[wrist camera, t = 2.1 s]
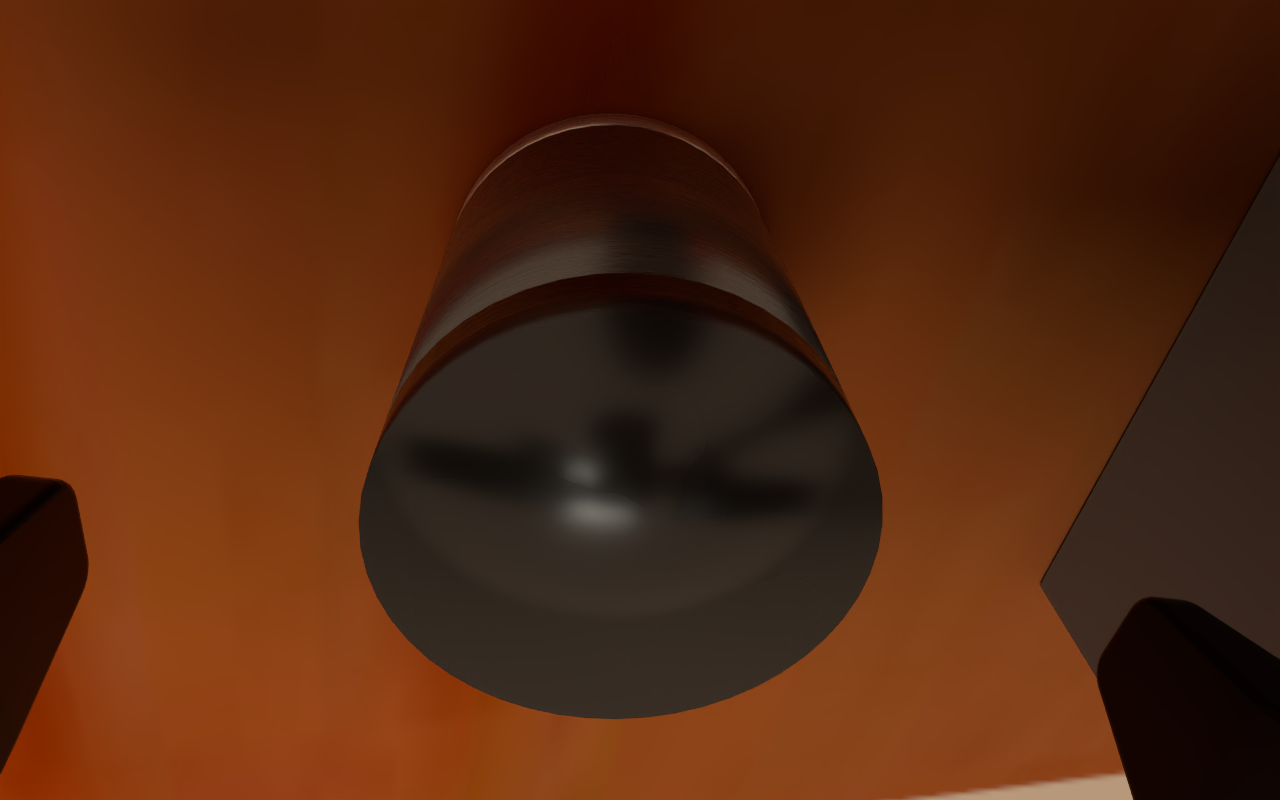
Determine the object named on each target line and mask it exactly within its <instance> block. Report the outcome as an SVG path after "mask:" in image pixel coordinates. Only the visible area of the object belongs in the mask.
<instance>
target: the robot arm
mask: <svg viewBox="0 0 1280 800" xmlns="http://www.w3.org/2000/svg"><path fill="white" fill-rule="evenodd" d="M88 564H89V563H88V555H87V549H86V544H85V539H84V534H83V529H82V523H81V518H80V513H79V508H78V503H77V498H76V495H75V492H74V490H73V488H72V487H71V485H69V484H68V483H67V482H65V481H63V480H59V479H52V478H42V477H33V476H24V475H9V476H5V477H2V478H0V775H1V773H2V771H3V769H4V766H5V764H6V762H7V760H8V758H9V756H10V754H11V752H12V750H13V748H14V746H15V743H16V741H17V739H18V737H19V735H20V732H21V730H22V728H23V726H24V723H25V721H26V719H27V717H28V714H29V712H30V710H31V708H32V705H33V703H34V701H35V699H36V696H37V694H38V692H39V690H40V687H41V685H42V683H43V681H44V679H45V676H46V674H47V672H48V670H49V667H50V665H51V663H52V661H53V658H54V656H55V654H56V652H57V649H58V647H59V645H60V643H61V640H62V638H63V636H64V634H65V631H66V629H67V627H68V625H69V622H70V620H71V618H72V616H73V613H74V611H75V609H76V607H77V604H78V602H79V600H80V598H81V595H82V593H83V590H84V588H85V584H86V581H87V576H88ZM1097 683H1098V687H1099V690H1100V694H1101V697H1102V700H1103V703H1104V706H1105V710H1106V713H1107V716H1108V719H1109V723H1110V726H1111V729H1112V732H1113V736H1114V739H1115V742H1116V745H1117V748H1118V752H1119V755H1120V758H1121V761H1122V765H1123V768H1124V771H1125V774H1126V777H1127V781H1128V784H1129V787H1130V790H1131V794H1132V797H1133V800H1280V659H1279V658H1277V657H1276V656H1274V655H1273V654H1271V653H1270V652H1268V651H1267V650H1265V649H1264V648H1262V647H1260V646H1259V645H1257V644H1256V643H1254V642H1253V641H1251V640H1250V639H1248V638H1247V637H1245V636H1244V635H1242V634H1241V633H1239V632H1238V631H1236V630H1235V629H1233V628H1232V627H1230V626H1229V625H1227V624H1226V623H1224V622H1223V621H1221V620H1220V619H1218V618H1217V617H1215V616H1213V615H1212V614H1210V613H1209V612H1207V611H1206V610H1204V609H1203V608H1201V607H1200V606H1198V605H1196V604H1195V603H1192V602H1190V601H1187V600H1182V599H1173V598H1164V597H1154V596H1149V597H1144V598H1142V599H1140V600H1139V601H1137V602H1136V603H1134V605H1133V606H1132V607H1131V609H1130V610H1129V612H1128V613H1127V615H1126V616H1125V618H1124V619H1123V621H1122V623H1121V624H1120V626H1119V627H1118V629H1117V630H1116V632H1115V633H1114V635H1113V636H1112V638H1111V640H1110V641H1109V643H1108V644H1107V646H1106V647H1105V649H1104V650H1103V652H1102V654H1101V656H1100V658H1099V661H1098V664H1097Z"/></svg>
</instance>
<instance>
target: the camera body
mask: <svg viewBox="0 0 1280 800" xmlns="http://www.w3.org/2000/svg"><path fill="white" fill-rule="evenodd" d="M1040 586H1041V588H1042V589H1043V591H1044V593H1045V594H1046V596H1047V598H1048V599H1049V601H1050V602H1051V604H1052V606H1053V607H1054V609H1055V611H1056V612H1057V614H1058V615H1059V617H1060V619H1061V620H1062V622H1063V624H1064V625H1065V627H1066V629H1067V630H1068V632H1069V633H1070V635H1071V637H1072V638H1073V640H1074V642H1075V643H1076V645H1077V647H1078V648H1079V650H1080V651H1081V653H1082V655H1083V656H1084V658H1085V660H1086V661H1087V663H1088V665H1089V666H1090V668H1091V669H1092V671H1093V673H1094V674H1095V676H1096V678H1097V664H1098V661H1099V658H1100V656H1101V654H1102V652H1103V650H1104V649H1105V647H1106V646H1107V644H1108V643H1109V641H1110V640H1111V638H1112V636H1113V635H1114V633H1115V632H1116V630H1117V629H1118V627H1119V626H1120V624H1121V623H1122V621H1123V619H1124V618H1125V616H1126V615H1127V613H1128V612H1129V610H1130V609H1131V607H1132V606H1133V605H1134V603H1136V602H1137V601H1139V600H1140V599H1142V598H1144V597H1149V596H1154V597H1164V598H1173V599H1182V600H1187V601H1190V602H1192V603H1195V604H1196V605H1198V606H1200V607H1201V608H1203V609H1204V610H1206V611H1207V612H1209V613H1210V614H1212V615H1213V616H1215V617H1217V618H1218V619H1220V620H1221V621H1223V622H1224V623H1226V624H1227V625H1229V626H1230V627H1232V628H1233V629H1235V630H1236V631H1238V632H1239V633H1241V634H1242V635H1244V636H1245V637H1247V638H1248V639H1250V640H1251V641H1253V642H1254V643H1256V644H1257V645H1259V646H1260V647H1262V648H1264V649H1265V650H1267V651H1268V652H1270V653H1271V654H1273V655H1274V656H1276V657H1277V658H1279V659H1280V156H1279V158H1278V159H1277V161H1276V163H1275V165H1274V167H1273V168H1272V170H1271V172H1270V174H1269V176H1268V177H1267V179H1266V181H1265V183H1264V185H1263V186H1262V188H1261V190H1260V192H1259V193H1258V195H1257V197H1256V199H1255V201H1254V202H1253V204H1252V206H1251V208H1250V210H1249V211H1248V213H1247V215H1246V217H1245V219H1244V220H1243V222H1242V224H1241V226H1240V228H1239V229H1238V231H1237V233H1236V235H1235V236H1234V238H1233V240H1232V242H1231V244H1230V245H1229V247H1228V249H1227V251H1226V253H1225V254H1224V256H1223V258H1222V260H1221V262H1220V263H1219V265H1218V267H1217V269H1216V271H1215V272H1214V274H1213V276H1212V278H1211V280H1210V281H1209V283H1208V285H1207V287H1206V288H1205V290H1204V292H1203V294H1202V296H1201V297H1200V299H1199V301H1198V303H1197V305H1196V306H1195V308H1194V310H1193V312H1192V314H1191V315H1190V317H1189V319H1188V321H1187V323H1186V324H1185V326H1184V328H1183V330H1182V331H1181V333H1180V335H1179V337H1178V339H1177V340H1176V342H1175V344H1174V346H1173V348H1172V349H1171V351H1170V353H1169V355H1168V357H1167V358H1166V360H1165V362H1164V364H1163V366H1162V367H1161V369H1160V371H1159V373H1158V374H1157V376H1156V378H1155V380H1154V382H1153V383H1152V385H1151V387H1150V389H1149V391H1148V392H1147V394H1146V396H1145V398H1144V400H1143V401H1142V403H1141V405H1140V407H1139V409H1138V410H1137V412H1136V414H1135V416H1134V417H1133V419H1132V421H1131V423H1130V425H1129V426H1128V428H1127V430H1126V432H1125V434H1124V435H1123V437H1122V439H1121V441H1120V443H1119V444H1118V446H1117V448H1116V450H1115V452H1114V453H1113V455H1112V457H1111V459H1110V460H1109V462H1108V464H1107V466H1106V468H1105V469H1104V471H1103V473H1102V475H1101V477H1100V478H1099V480H1098V482H1097V484H1096V486H1095V487H1094V489H1093V491H1092V493H1091V495H1090V496H1089V498H1088V500H1087V502H1086V504H1085V505H1084V507H1083V509H1082V511H1081V512H1080V514H1079V516H1078V518H1077V520H1076V521H1075V523H1074V525H1073V527H1072V529H1071V530H1070V532H1069V534H1068V536H1067V538H1066V539H1065V541H1064V543H1063V545H1062V547H1061V548H1060V550H1059V552H1058V554H1057V555H1056V557H1055V559H1054V561H1053V563H1052V564H1051V566H1050V568H1049V570H1048V572H1047V573H1046V575H1045V577H1044V579H1043V581H1042V582H1041V584H1040Z"/></svg>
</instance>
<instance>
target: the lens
mask: <svg viewBox="0 0 1280 800" xmlns="http://www.w3.org/2000/svg"><path fill="white" fill-rule="evenodd" d="M881 529H882V493H881V487H880V482H879V476H878V471H877V468H876V465H875V462H874V460H873V457H872V454H871V451H870V449H869V446H868V444H867V441H866V439H865V437H864V435H863V433H862V431H861V429H860V426H859V424H858V422H857V420H856V418H855V416H854V414H853V411H852V409H851V407H850V405H849V403H848V401H847V399H846V396H845V394H844V392H843V390H842V388H841V386H840V384H839V381H838V379H837V377H836V375H835V373H834V371H833V369H832V366H831V364H830V362H829V360H828V358H827V356H826V354H825V351H824V349H823V347H822V345H821V343H820V341H819V339H818V336H817V334H816V332H815V330H814V328H813V326H812V324H811V321H810V319H809V317H808V315H807V313H806V311H805V309H804V306H803V304H802V302H801V300H800V298H799V296H798V294H797V291H796V289H795V287H794V285H793V283H792V281H791V279H790V276H789V274H788V272H787V270H786V268H785V266H784V264H783V261H782V259H781V257H780V255H779V253H778V251H777V249H776V246H775V244H774V242H773V240H772V238H771V236H770V234H769V231H768V229H767V227H766V225H765V223H764V221H763V219H762V216H761V214H760V212H759V210H758V208H757V206H756V204H755V201H754V200H753V198H752V196H751V194H750V192H749V191H748V189H747V187H746V185H745V183H744V182H743V181H742V179H741V178H740V177H739V175H738V174H737V173H736V171H735V170H734V169H733V167H732V166H731V165H730V164H729V163H728V162H727V161H726V160H725V159H724V158H723V157H722V156H721V155H720V154H719V153H718V152H716V151H715V150H714V149H712V148H711V147H710V146H708V145H707V144H706V143H704V142H703V141H702V140H700V139H699V138H697V137H695V136H693V135H692V134H690V133H688V132H686V131H684V130H683V129H681V128H678V127H676V126H673V125H671V124H668V123H665V122H663V121H660V120H656V119H652V118H648V117H644V116H640V115H632V114H622V113H596V114H587V115H581V116H575V117H570V118H567V119H564V120H560V121H557V122H554V123H551V124H548V125H546V126H544V127H541V128H539V129H537V130H535V131H533V132H531V133H529V134H527V135H526V136H524V137H522V138H521V139H519V140H518V141H516V142H515V143H513V144H512V145H510V146H509V147H508V148H507V149H505V150H504V151H503V152H502V153H501V154H500V155H499V156H497V157H496V158H495V159H494V160H493V161H492V162H491V163H490V165H489V166H488V167H487V168H486V169H485V170H484V171H483V173H482V174H481V175H480V176H479V178H478V179H477V181H476V182H475V184H474V185H473V187H472V188H471V190H470V192H469V193H468V195H467V198H466V200H465V202H464V204H463V206H462V208H461V211H460V213H459V216H458V219H457V222H456V224H455V227H454V230H453V233H452V236H451V238H450V241H449V244H448V247H447V250H446V252H445V255H444V258H443V261H442V264H441V267H440V269H439V272H438V275H437V278H436V281H435V283H434V286H433V289H432V292H431V295H430V297H429V300H428V303H427V306H426V309H425V312H424V314H423V317H422V320H421V323H420V326H419V328H418V331H417V334H416V337H415V340H414V343H413V345H412V348H411V351H410V354H409V357H408V359H407V362H406V365H405V368H404V371H403V373H402V376H401V379H400V382H399V385H398V388H397V390H396V393H395V396H394V399H393V402H392V404H391V407H390V410H389V413H388V416H387V418H386V421H385V424H384V427H383V430H382V433H381V435H380V438H379V441H378V444H377V447H376V449H375V452H374V455H373V458H372V461H371V463H370V466H369V470H368V473H367V477H366V480H365V484H364V487H363V491H362V495H361V505H360V514H359V531H360V546H361V551H362V555H363V559H364V563H365V568H366V572H367V575H368V577H369V579H370V582H371V584H372V586H373V589H374V591H375V593H376V596H377V598H378V600H379V601H380V603H381V604H382V606H383V608H384V609H385V611H386V612H387V614H388V616H389V617H390V619H391V620H392V622H393V623H394V624H395V625H396V626H397V627H398V629H399V630H400V631H401V632H402V633H403V635H404V636H405V637H406V638H407V639H408V641H410V642H411V643H412V644H413V645H414V646H415V647H416V648H417V649H418V650H419V651H420V652H422V653H423V654H424V655H425V656H426V657H427V658H428V659H429V660H431V661H432V662H434V663H435V664H436V665H438V666H439V667H441V668H442V669H443V670H445V671H446V672H448V673H449V674H450V675H452V676H454V677H456V678H457V679H459V680H461V681H463V682H465V683H466V684H468V685H470V686H472V687H474V688H475V689H478V690H480V691H482V692H485V693H487V694H489V695H492V696H494V697H497V698H499V699H501V700H504V701H507V702H511V703H514V704H517V705H520V706H523V707H527V708H530V709H535V710H539V711H544V712H549V713H553V714H558V715H566V716H575V717H583V718H602V719H625V718H644V717H652V716H659V715H666V714H673V713H678V712H682V711H687V710H691V709H695V708H700V707H704V706H707V705H710V704H713V703H716V702H719V701H722V700H725V699H728V698H731V697H733V696H736V695H738V694H740V693H743V692H745V691H747V690H750V689H752V688H754V687H757V686H758V685H760V684H762V683H764V682H766V681H767V680H769V679H771V678H773V677H775V676H776V675H778V674H780V673H782V672H783V671H785V670H786V669H788V668H789V667H790V666H792V665H793V664H795V663H796V662H798V661H799V660H801V659H802V658H803V657H805V656H806V655H807V654H808V653H809V652H810V651H812V650H813V649H814V648H815V647H816V646H817V645H818V644H820V643H821V642H822V641H823V640H824V639H825V638H826V637H827V636H828V635H829V634H830V633H831V632H832V631H833V629H834V628H835V627H836V626H837V625H838V624H839V623H840V622H841V621H842V619H843V618H844V617H845V615H846V614H847V612H848V611H849V610H850V608H851V607H852V605H853V604H854V602H855V601H856V600H857V598H858V596H859V594H860V593H861V591H862V589H863V587H864V585H865V583H866V581H867V579H868V577H869V575H870V572H871V569H872V566H873V563H874V560H875V557H876V554H877V551H878V547H879V541H880V535H881Z"/></svg>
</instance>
